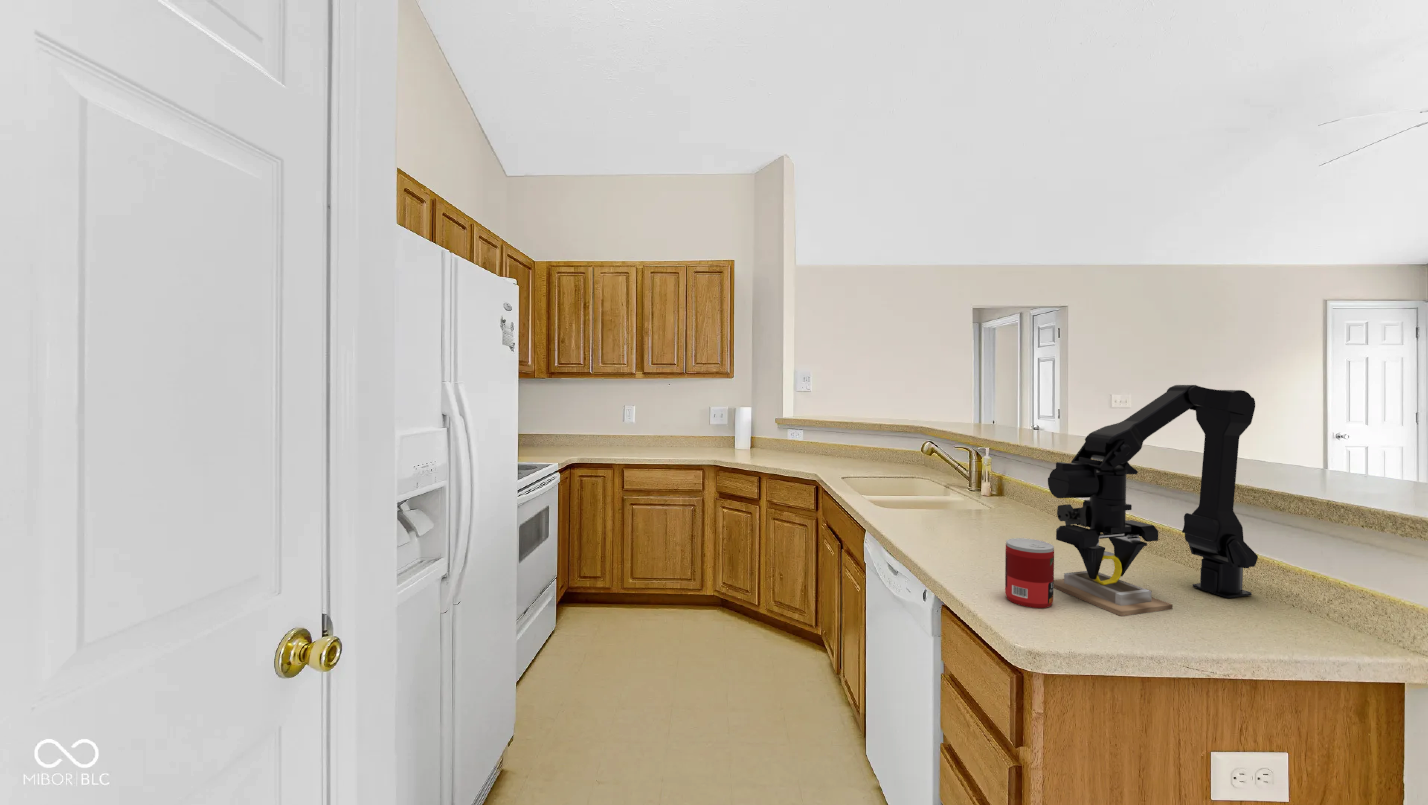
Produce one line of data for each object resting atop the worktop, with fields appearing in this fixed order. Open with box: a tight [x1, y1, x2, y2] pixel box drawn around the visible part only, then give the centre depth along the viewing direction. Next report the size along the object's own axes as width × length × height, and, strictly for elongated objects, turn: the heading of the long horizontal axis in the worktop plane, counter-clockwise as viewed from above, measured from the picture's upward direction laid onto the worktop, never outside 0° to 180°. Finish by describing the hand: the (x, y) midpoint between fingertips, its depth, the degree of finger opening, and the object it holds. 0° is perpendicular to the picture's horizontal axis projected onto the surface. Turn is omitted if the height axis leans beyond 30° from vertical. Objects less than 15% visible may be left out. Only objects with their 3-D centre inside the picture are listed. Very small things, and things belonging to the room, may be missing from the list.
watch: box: [1094, 551, 1122, 585], centre depth 107 cm, size 6×3×6 cm, turn 102°
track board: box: [1054, 570, 1173, 617], centre depth 108 cm, size 12×16×3 cm
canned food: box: [1004, 537, 1055, 609], centre depth 106 cm, size 8×8×11 cm
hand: (1105, 577), depth 108 cm, fingers closed on watch, 6 cm apart
